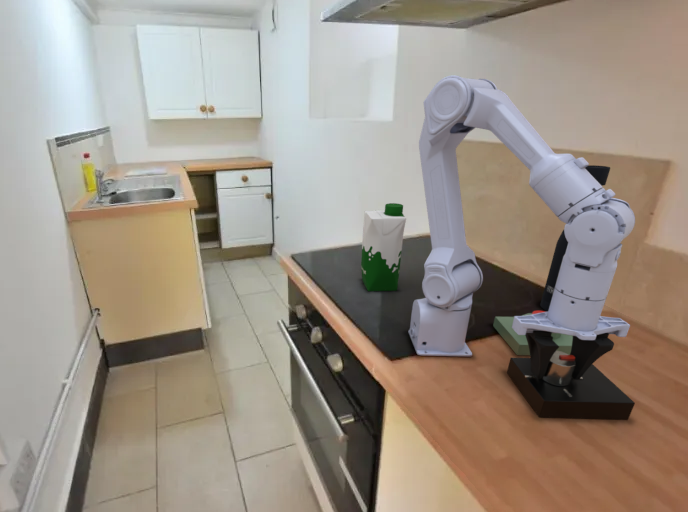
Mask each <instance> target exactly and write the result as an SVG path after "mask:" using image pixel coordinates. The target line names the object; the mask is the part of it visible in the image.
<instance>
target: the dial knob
mask: <svg viewBox="0 0 688 512" xmlns="http://www.w3.org/2000/svg"><path fill="white" fill-rule="evenodd" d="M575 366H576V360H575V357H574V356H573V355H568V354H566V353H564V352H561V351H557V350H556V351H555V353H554V354H553V356H552V357H551V359H550V361H549V363H548V366H547V370H546V373H545V375H544V377H543V378H542V379H543V380H544V381H546V382H547V383H550V384H552V385H556V386H567V385H569V384H570V381H571V378H572V375H573V372H574V369H575Z"/></svg>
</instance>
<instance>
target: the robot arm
mask: <svg viewBox="0 0 688 512" xmlns="http://www.w3.org/2000/svg"><path fill="white" fill-rule="evenodd" d="M423 110H424V119H423V124H422V127H421V130H420V131H421V133H420V136H419V140H418V151H419V158H420V167H421V173H422V181H423V188H424V196H425V205H426V212H427V219H428V227H429V235H430V244H431V251H430V253H429V255H428V257H427V258H426V260H425V262H424V264H423V266H424V277H423V279H422V282H421V289H422V293H423V295H424V297H423V298H417V299H414V301H413V303H412V308H411V315H410V324H409V325H410V326H409V329H408V335H409V338H410V341H411V343H412V345H413V347H414V350H415V352H416V354H417V355H418V356H425V357H429V356H433V357H472V356H473V352H472V351H471V349H470V347H469V346H468V344H467V343H466V339H467V338H466V337H467V332H468V328H469V322H470V316H471V310H472V305H473V297H474V296H473V295H474V293H476V292H477V291H478V290H479V289H480V288H481V287H482V284H483V282H484V275H483V271H482V269H481V267H480V266H479V264H478V263H477V259H476V252H474V250H473V249H471V247H470V246H469V245H468V244H467V238H466V237H467V236H466V228H465V219H464V211H463V202H462V201H463V200H462V193H461V185H460V177H459V176H460V175H459V167H458V159H457V148H458V146H459V145H460V144H461V143H462V142H463V140H464V139H465V138H466V137H467V136H468V134H469V133H470V132H472V131H473V130H475V129H476V128H477V129H480V130H481V129H482V130H486V131H490V132H491V133H492V134H493V135H494V136H495V137H496V138H497V139H498V140H499V141H500V142H501V143H502V144H503V145H504V146H505V147H506V148H507V149H508V150H509V151H510V152H511V153H512V154H513V155H514V156H515V157H516V158H517V159H518V160H519V161H520V162H521V163H522V164H523V165H524V166H525V167H527V169H528V170H529V181H528V186H529V187H530V188H531V189H532V190H533V191H534V192H535V193H536V194H537V196H538V197H539V198H540V200H541V201H542V202H544V204H545V205H546V206H547V207H548V208H549V209H550V211H552V213H553V214H554V215H555V216H556V217H557V218H558V220H559V221H561V222H562V223H564V228H563V230H564V233H565V237H566V239H567V241H568V246H567V249H566V253H565V255H564V256H563V260H562V264H561V267H560V271H559V274H558V278H557V282H556V285H555V289H554V292H553V296H552V300H551V303H550V307H549V310H548V311H545V312H542V313H537V314H532V315H526V316H522V315H514V316H513V317H514V320H513V325H512V328H513V329H514V331H515V332H516V333H517V334H518V335H525V336H526V339H527V342H528V346H529V351H530V355H529V358H530V360H531V372H532V373H533V374H534V375H535V377H536V378H537V379H542V378H543V377H544V375H545V373H546V370H547V366H548V363H549V361H550V359H551V357H552V356H553V354H554V353H555V351H556V350H557V349H558V348H559V346H558V345H557V344H556V343H555V342H554V341H553V337H552V336H551V334H552V333H560V334H566V335H572V336H573V340H572V348H571V353H570V355H573V356H574V357H575V360H576V366H575V369H574V372H573V375H572V377H573V378H574V379H575V380H579V379H580V378H581V377H582V375H583V374H584V373H585V372H586V370H587V369H588V368H589V367H590V366H591V365H592V364H593V365H594V363H595V362H596V361H597V360H599V359H600V358H601V357H602V356H604V355H606V354H608V353H609V352H611V351H613V348H614V346H615V342H614V341H613V340H611V338H609V336H610V335H615V336H616V337H619V338H626V337H627V335H628V332H629V330H630V327H631V324H629V323H628V322H627V321H626V320H624V319H622V318H621V317H610V316H602V312H603V310H604V306H605V305H606V304H605V303H606V300H607V297H608V296H609V291H610V289H611V286H612V283H613V281H614V277H615V274H616V271H617V267H618V260H619V259H620V257H621V254H622V248H623V244H622V242H623V240H625V239H626V238H627V237H629V236H630V234H631V233H632V232H633V229H634V227H635V226H636V225H635V224H636V217H635V213H634V211H633V209H632V208H631V205H630V204H629V203H628V201H626V200H624V199H620V198H617V197H615V196H616V192H615V191H613V190H612V189H611V188H608V189H607V190H606V189H605V188H604V186H601V185H600V184H599V183H598V181H597V180H596V179H595V178H594V177H593V176H592V175H591V174H590V173H589V172H588V171H587V170H586V169H585V167H587V166H588V165H590V163H589V162H588V161H587V160H586V158H584V157H583V156H582V157H581V156H580V157H578V158H576V157H575V156H574V155H573V154H572V153H555V151H554V150H553V149H552V148H551V147H550V145H549V144H548V143H547V142H546V141H545V140H544V138H543V137H542V136H541V135H540V133H538V131H537V130H536V129H535V127H534V126H533V125H532V124H531V123H530V122H529V120H527V118H526V117H525V116H524V114H523V113H522V112H521V111H520V109H519V108H518V107H517V106H516V105H515V103H514V102H513V101H512V100H511V98H510V97H509V96H508V94H507V93H505V92H504V91H503V90H501V89H498V87H497V85H496V84H495V83H494V82H493V81H492V80H490V79H487V78H468V77H462V76H460V75H455V74H453V75H452V74H451V75H447V76H445V77H442V78H441V79H440V80H438V82H436V83H435V85H434V86H433V87H432V89H431V91H429V94H428V95H427V96H426V97H425V99H424V100H423Z"/></svg>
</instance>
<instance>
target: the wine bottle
mask: <svg viewBox="0 0 688 512" xmlns="http://www.w3.org/2000/svg"><path fill="white" fill-rule="evenodd" d="M585 169H586V170H587V171H588V172H589V173H590V174H591V175H592V176H593V177H594V178H595V179H596V180H597V181H598V183H599V184H600V185H601V186H602V187H604V186H606V184H607V181H608V179H609V178H608V177H609V175H610V171H611V167H610V166H607V165H595V164H594V165H590V164H589V165H588V166H587V167H585ZM567 246H568V241H567V239H566V237H565V233H564V229H562V232H561V234H560V236H559V237H558V239H557V241H556V244H555V248H554V251H553V255H552V260H551V263H550V267H549V270H548V275H547V276H546V277H547V278H546V281H545V284H544V285H545V286H544V288H543V289H544V290H543V293H542V296H541V300H540V304H539V306H540V308H541V309H543V311H545V312H547V311H548V310H549V307H550V303H551V300H552V296H553V292H554V289H555V285H556V282H557V278H558V274H559V271H560V267H561V264H562V260H563V256H564V255H565V253H566V249H567Z"/></svg>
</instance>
